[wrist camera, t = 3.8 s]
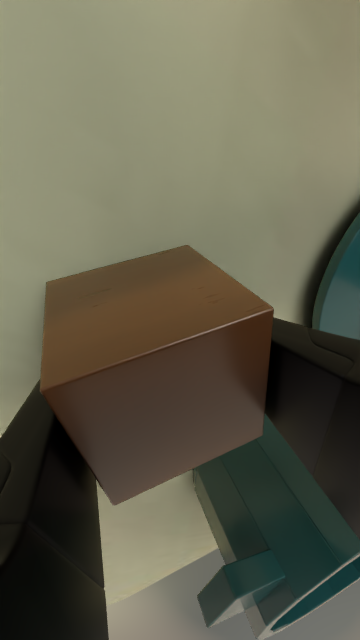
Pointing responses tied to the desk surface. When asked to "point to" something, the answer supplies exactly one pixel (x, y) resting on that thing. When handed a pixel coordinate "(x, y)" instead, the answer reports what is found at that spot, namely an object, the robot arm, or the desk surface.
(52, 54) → the desk surface
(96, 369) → the walnut block
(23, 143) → the desk surface
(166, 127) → the desk surface
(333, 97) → the desk surface
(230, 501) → the pot
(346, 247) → the lid
